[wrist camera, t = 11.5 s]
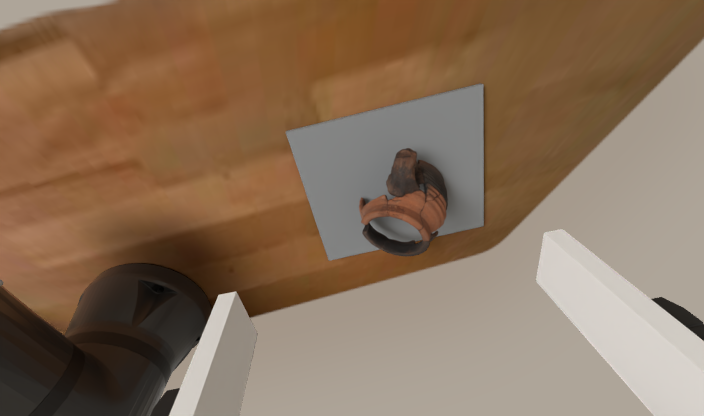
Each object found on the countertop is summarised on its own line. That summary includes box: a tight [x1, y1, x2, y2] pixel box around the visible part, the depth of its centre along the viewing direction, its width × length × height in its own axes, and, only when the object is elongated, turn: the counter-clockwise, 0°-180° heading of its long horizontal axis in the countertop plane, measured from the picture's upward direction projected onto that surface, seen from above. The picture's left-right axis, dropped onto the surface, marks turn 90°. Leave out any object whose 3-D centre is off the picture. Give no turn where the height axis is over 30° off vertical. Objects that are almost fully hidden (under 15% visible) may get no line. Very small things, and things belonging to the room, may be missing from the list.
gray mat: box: [286, 84, 484, 261], centre depth 34 cm, size 20×17×1 cm
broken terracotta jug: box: [359, 148, 448, 256], centre depth 32 cm, size 12×10×8 cm
